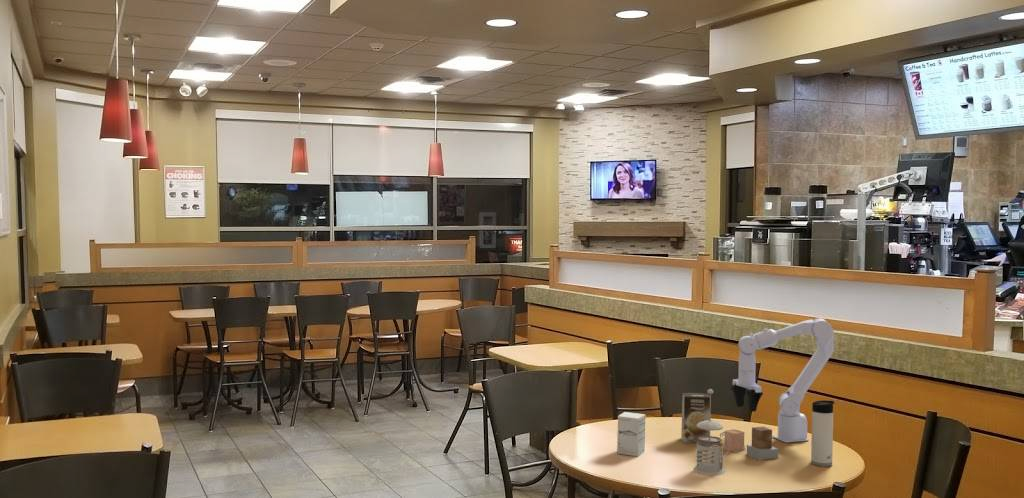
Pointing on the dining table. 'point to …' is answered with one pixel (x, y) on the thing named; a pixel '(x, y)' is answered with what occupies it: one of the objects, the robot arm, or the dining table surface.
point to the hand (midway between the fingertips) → (746, 408)
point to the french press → (710, 448)
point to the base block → (762, 452)
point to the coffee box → (694, 416)
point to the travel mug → (822, 433)
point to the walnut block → (761, 437)
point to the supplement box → (631, 434)
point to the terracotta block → (734, 440)
